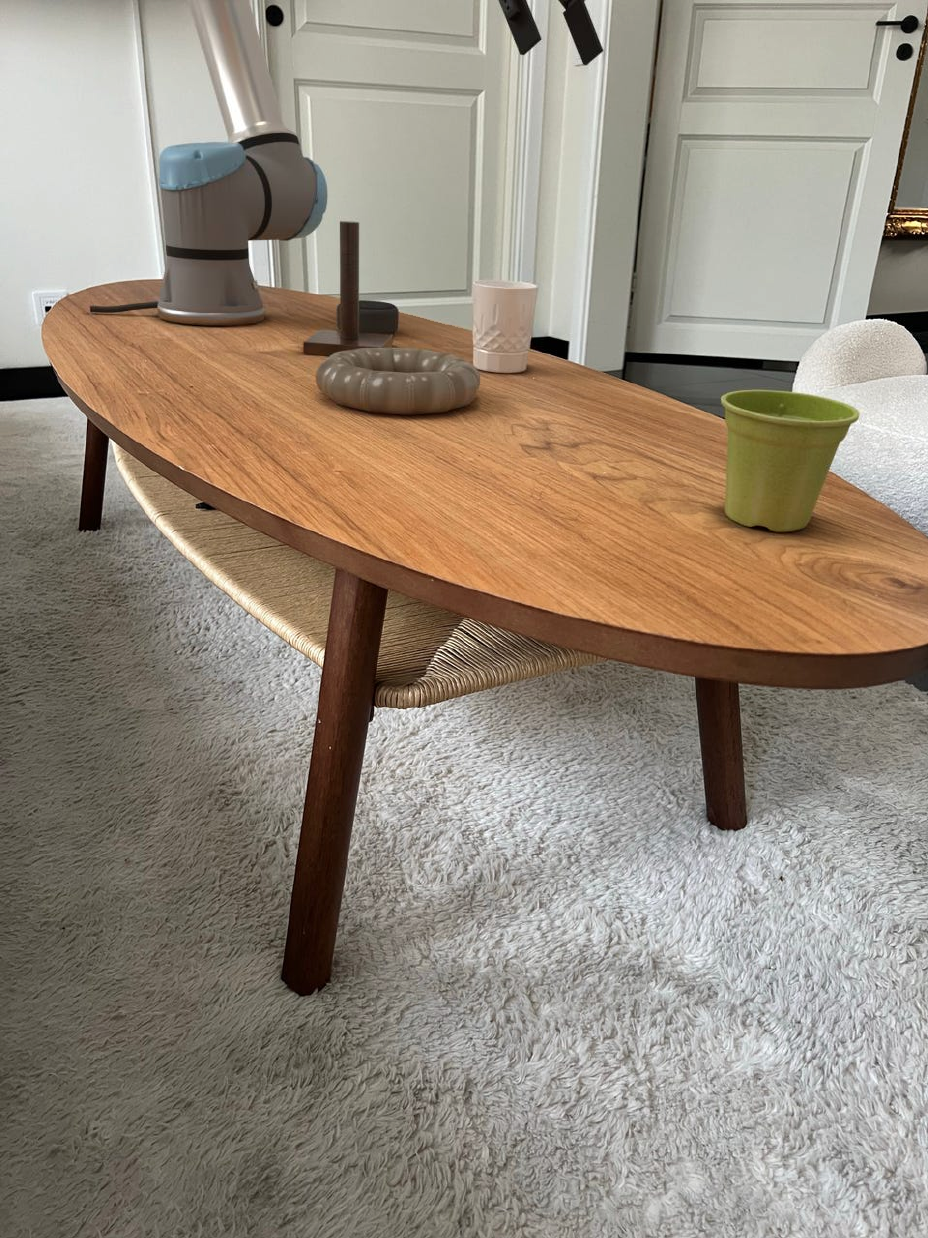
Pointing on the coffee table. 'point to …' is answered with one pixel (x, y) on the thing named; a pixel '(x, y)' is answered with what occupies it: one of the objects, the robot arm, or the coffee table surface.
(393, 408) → the taupe ribbed ring
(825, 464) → the plant pot
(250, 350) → the coffee table surface
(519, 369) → the white cup
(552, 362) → the coffee table surface
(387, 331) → the smart speaker
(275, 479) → the coffee table surface
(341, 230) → the stand
